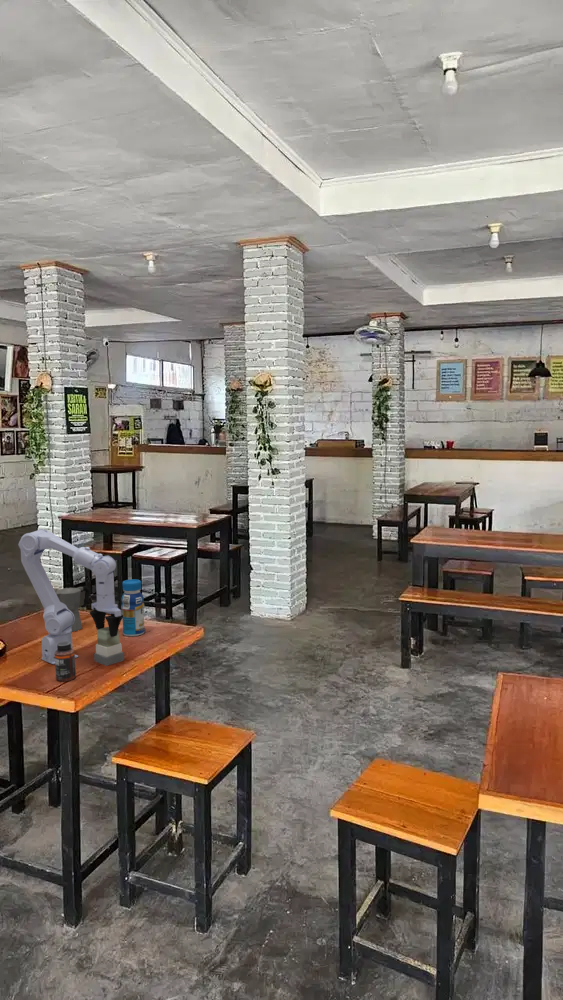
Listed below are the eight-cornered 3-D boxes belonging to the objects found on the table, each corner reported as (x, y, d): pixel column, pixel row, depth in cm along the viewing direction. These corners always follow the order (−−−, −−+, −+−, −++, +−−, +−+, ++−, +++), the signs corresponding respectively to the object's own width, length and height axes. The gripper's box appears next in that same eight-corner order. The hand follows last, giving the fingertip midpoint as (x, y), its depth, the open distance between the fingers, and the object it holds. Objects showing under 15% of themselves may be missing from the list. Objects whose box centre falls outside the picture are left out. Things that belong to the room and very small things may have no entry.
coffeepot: (59, 635, 262) (57, 588, 260) (48, 630, 269) (46, 584, 267) (97, 626, 272) (95, 581, 270) (85, 621, 279) (83, 577, 277)
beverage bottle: (120, 631, 265) (118, 580, 263) (142, 628, 269) (140, 577, 266) (124, 638, 258) (122, 584, 255) (147, 635, 261) (145, 582, 259)
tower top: (106, 656, 230) (106, 647, 230) (95, 653, 234) (95, 644, 233) (121, 652, 235) (121, 643, 234) (110, 648, 238) (110, 639, 238)
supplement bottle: (73, 673, 223) (72, 639, 221) (77, 679, 217) (76, 644, 216) (54, 677, 220) (52, 642, 218) (57, 683, 215) (56, 647, 213)
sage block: (106, 647, 230) (105, 632, 230) (97, 644, 233) (96, 629, 233) (119, 643, 234) (118, 629, 233) (110, 640, 237) (109, 626, 237)
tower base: (106, 666, 229) (105, 657, 229) (94, 661, 234) (94, 653, 234) (124, 661, 234) (124, 652, 234) (112, 656, 239) (112, 648, 239)
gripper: (128, 594, 230) (130, 635, 231) (103, 587, 239) (105, 626, 241) (110, 599, 225) (111, 640, 226) (85, 591, 234) (87, 631, 236)
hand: (107, 633), depth 233 cm, fingers open, 7 cm apart
